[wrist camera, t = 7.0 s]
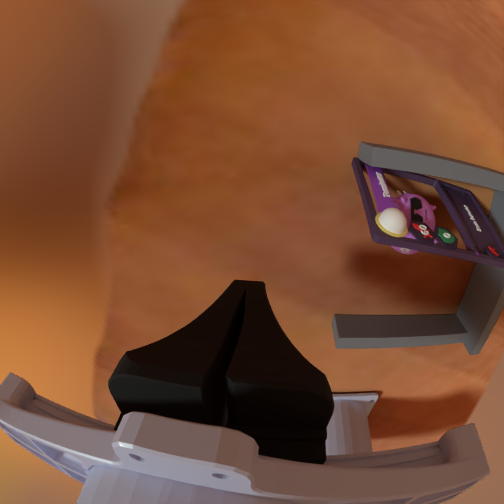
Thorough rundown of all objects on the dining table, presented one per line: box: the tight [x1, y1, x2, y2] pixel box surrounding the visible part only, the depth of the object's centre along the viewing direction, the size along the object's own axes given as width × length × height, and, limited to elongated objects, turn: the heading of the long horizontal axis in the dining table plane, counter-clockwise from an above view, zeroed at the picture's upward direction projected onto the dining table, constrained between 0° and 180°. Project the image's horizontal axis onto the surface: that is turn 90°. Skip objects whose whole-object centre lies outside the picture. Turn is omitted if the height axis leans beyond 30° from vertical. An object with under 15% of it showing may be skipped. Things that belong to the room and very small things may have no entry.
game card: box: [352, 157, 504, 268], centre depth 14 cm, size 7×5×9 cm
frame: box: [332, 142, 504, 355], centre depth 16 cm, size 13×12×4 cm
